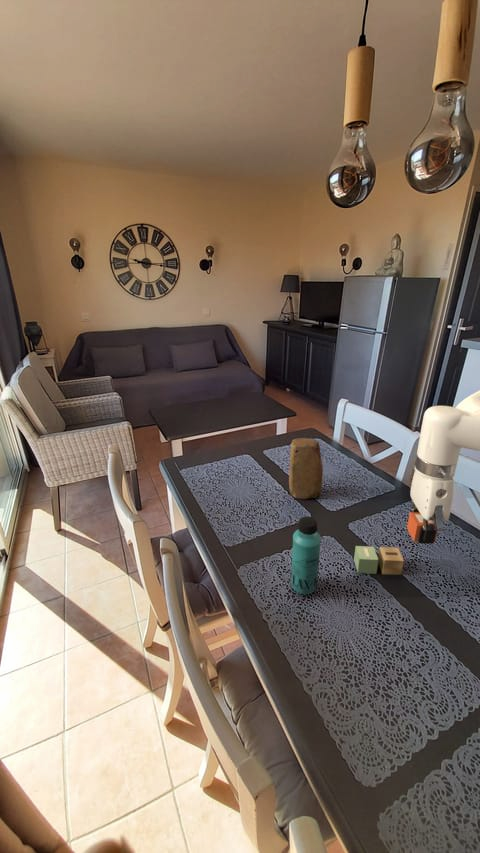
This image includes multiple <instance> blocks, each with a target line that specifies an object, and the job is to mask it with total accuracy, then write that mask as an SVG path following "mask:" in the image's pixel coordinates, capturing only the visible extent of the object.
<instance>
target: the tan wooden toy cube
mask: <svg viewBox="0 0 480 853" xmlns="http://www.w3.org/2000/svg"><path fill="white" fill-rule="evenodd" d="M378 548H379V549H378V555H377V557H378V567H379V569H380V572H381V574H382V575H391V576H393V575H394V576H402V573H403V569H404V568H403V567H404V563H405V561H404V560H405V559H404V558H403V554H402V553H401V551H400V549H399V547H392V546H391V547H390V546H379V547H378Z"/></svg>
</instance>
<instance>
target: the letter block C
mask: <svg viewBox="0 0 480 853" xmlns="http://www.w3.org/2000/svg"><path fill="white" fill-rule="evenodd" d="M408 514H409V515H408V520H407V525H406V530H407V531H408V533H409V535H410V537H411V539H412V541H413V542H414V543H419V542H418V538H419V533H420V528H421V527H423V517H422V515H421V513H416V512H413V511H412V512H409V513H408ZM428 524H434V520H428ZM438 532H439V530H438V531H436V535H435V540H434V543H436V540H437V536H438Z"/></svg>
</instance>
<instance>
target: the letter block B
mask: <svg viewBox="0 0 480 853" xmlns="http://www.w3.org/2000/svg"><path fill="white" fill-rule="evenodd" d="M353 562H354V565H355V569H356V573H357V574H368V575H369V574H370V575H371V574H373V575H374V574H375V575H377V572H378V567H379V563H378V555H377V552H376V548H375V546H367V545H365V546H364V545H355V549H354V555H353Z"/></svg>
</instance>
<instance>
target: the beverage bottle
mask: <svg viewBox="0 0 480 853" xmlns="http://www.w3.org/2000/svg"><path fill="white" fill-rule="evenodd" d="M321 542H322V537H321V535H320V533H319V532H318V522H317V520H316V519H315V518H314V517H312V516H309V515H308V516H302V517H301V518H299V520H298V525H297V529H296V530H295V531H294V532H293V535H292V551H291V554H292V555H291V566H290V576H289V577H290V579H289V580H290V584H291V588H292V589H293V590H294V591H295V592H296V593H298V594H301V595H310V594H312V593H314V592H315V591H316V589H317V588H318V584H319V583H318V580H319V575H320V574H319V568H320V555H321V552H320V551H321Z"/></svg>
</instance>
